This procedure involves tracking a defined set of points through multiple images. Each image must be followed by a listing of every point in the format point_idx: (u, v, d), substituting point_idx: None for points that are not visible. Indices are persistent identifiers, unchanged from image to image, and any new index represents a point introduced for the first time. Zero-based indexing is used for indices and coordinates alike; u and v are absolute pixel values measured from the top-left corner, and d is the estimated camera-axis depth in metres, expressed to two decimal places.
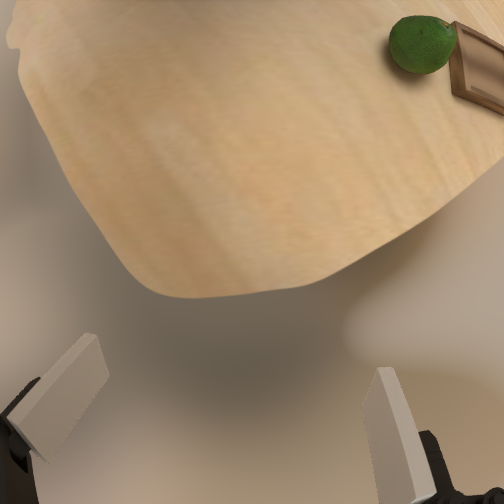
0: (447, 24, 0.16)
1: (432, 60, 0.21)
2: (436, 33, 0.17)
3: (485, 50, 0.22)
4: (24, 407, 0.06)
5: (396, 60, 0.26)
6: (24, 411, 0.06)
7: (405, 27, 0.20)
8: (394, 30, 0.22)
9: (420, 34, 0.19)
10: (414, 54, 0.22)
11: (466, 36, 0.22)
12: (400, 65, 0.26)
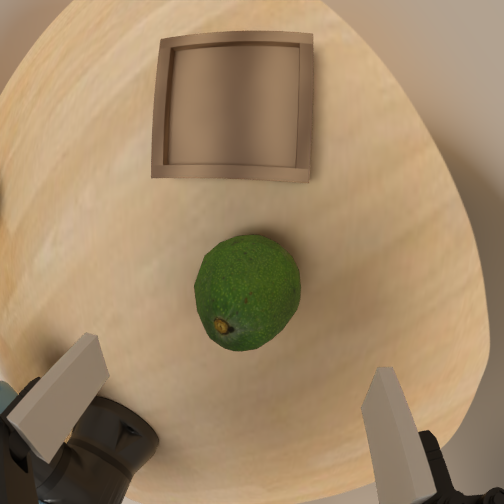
0: (219, 320, 0.15)
1: (292, 307, 0.19)
2: (255, 346, 0.16)
3: (188, 98, 0.19)
4: (24, 407, 0.06)
5: None
6: (24, 411, 0.06)
7: None
8: None
9: None
10: None
11: (174, 145, 0.21)
12: None
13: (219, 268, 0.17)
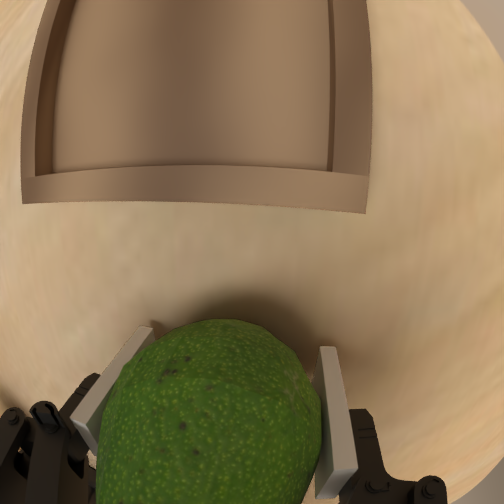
0: None
1: (301, 500, 0.06)
2: None
3: (90, 36, 0.07)
4: (89, 404, 0.08)
5: None
6: (90, 408, 0.08)
7: None
8: None
9: None
10: None
11: (61, 133, 0.08)
12: None
13: (119, 459, 0.05)
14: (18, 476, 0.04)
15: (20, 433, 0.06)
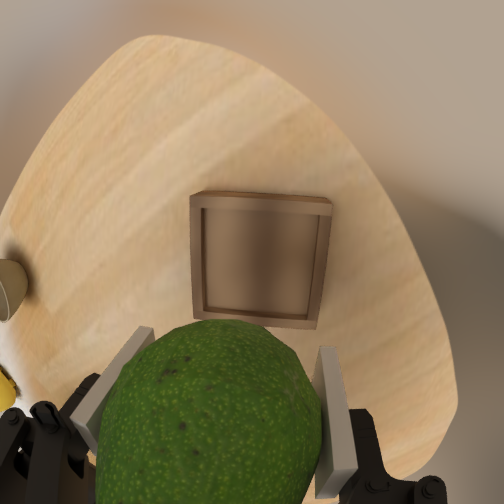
0: None
1: (301, 500, 0.06)
2: None
3: (220, 256, 0.26)
4: (89, 404, 0.08)
5: None
6: (90, 408, 0.08)
7: None
8: None
9: None
10: None
11: (210, 293, 0.27)
12: None
13: (118, 459, 0.05)
14: (18, 476, 0.04)
15: (20, 433, 0.06)
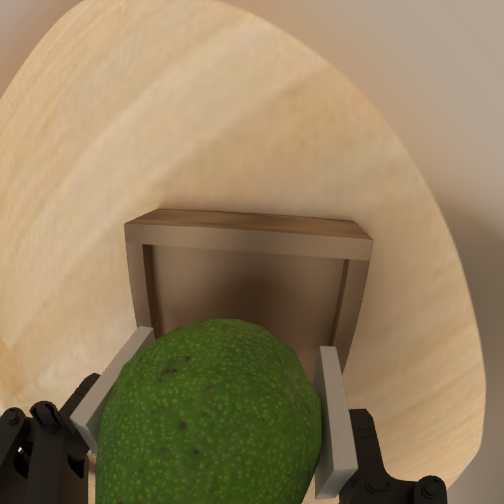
0: None
1: (301, 500, 0.06)
2: None
3: (182, 317, 0.16)
4: (89, 404, 0.08)
5: None
6: (90, 408, 0.08)
7: None
8: None
9: None
10: None
11: None
12: None
13: (118, 459, 0.05)
14: (18, 476, 0.04)
15: (20, 433, 0.06)
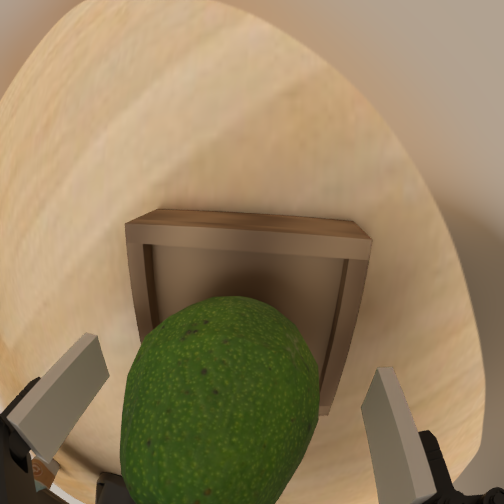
0: None
1: (303, 453, 0.08)
2: None
3: None
4: (24, 407, 0.06)
5: None
6: (24, 411, 0.06)
7: None
8: None
9: None
10: None
11: None
12: None
13: (147, 405, 0.07)
14: None
15: None
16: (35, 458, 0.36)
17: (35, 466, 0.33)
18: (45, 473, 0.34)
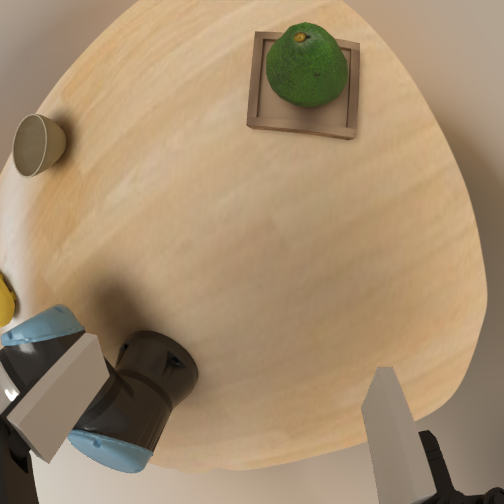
0: (299, 33, 0.16)
1: (345, 64, 0.19)
2: (324, 56, 0.17)
3: None
4: (24, 407, 0.06)
5: None
6: (24, 411, 0.06)
7: (299, 90, 0.21)
8: (296, 101, 0.23)
9: (320, 76, 0.19)
10: (338, 86, 0.21)
11: (263, 105, 0.29)
12: None
13: None
14: None
15: None
16: None
17: None
18: None
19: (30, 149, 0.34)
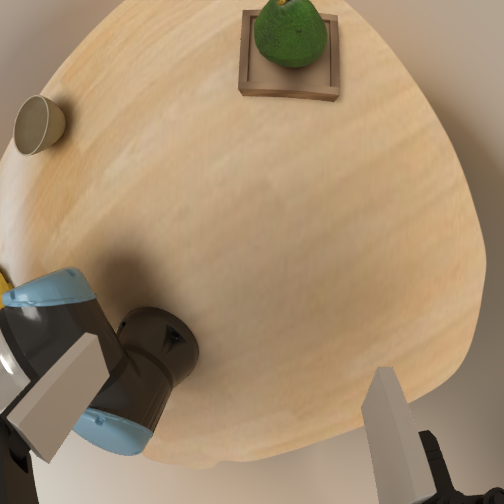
0: None
1: (323, 25, 0.20)
2: (303, 15, 0.18)
3: None
4: (24, 407, 0.06)
5: (311, 62, 0.26)
6: (24, 411, 0.06)
7: (284, 47, 0.22)
8: (282, 60, 0.24)
9: (301, 33, 0.20)
10: (319, 43, 0.22)
11: (253, 72, 0.30)
12: None
13: None
14: None
15: None
16: None
17: None
18: None
19: (30, 132, 0.34)
